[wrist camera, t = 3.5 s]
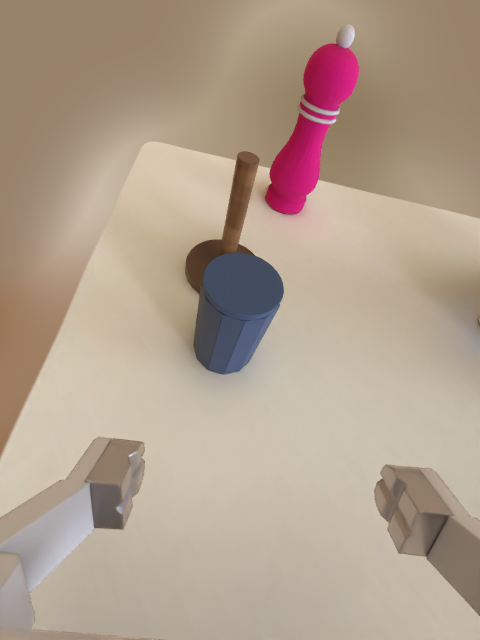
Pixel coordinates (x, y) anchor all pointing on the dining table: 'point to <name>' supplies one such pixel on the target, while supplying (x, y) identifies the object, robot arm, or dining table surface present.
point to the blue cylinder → (235, 310)
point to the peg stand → (226, 222)
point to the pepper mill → (313, 122)
